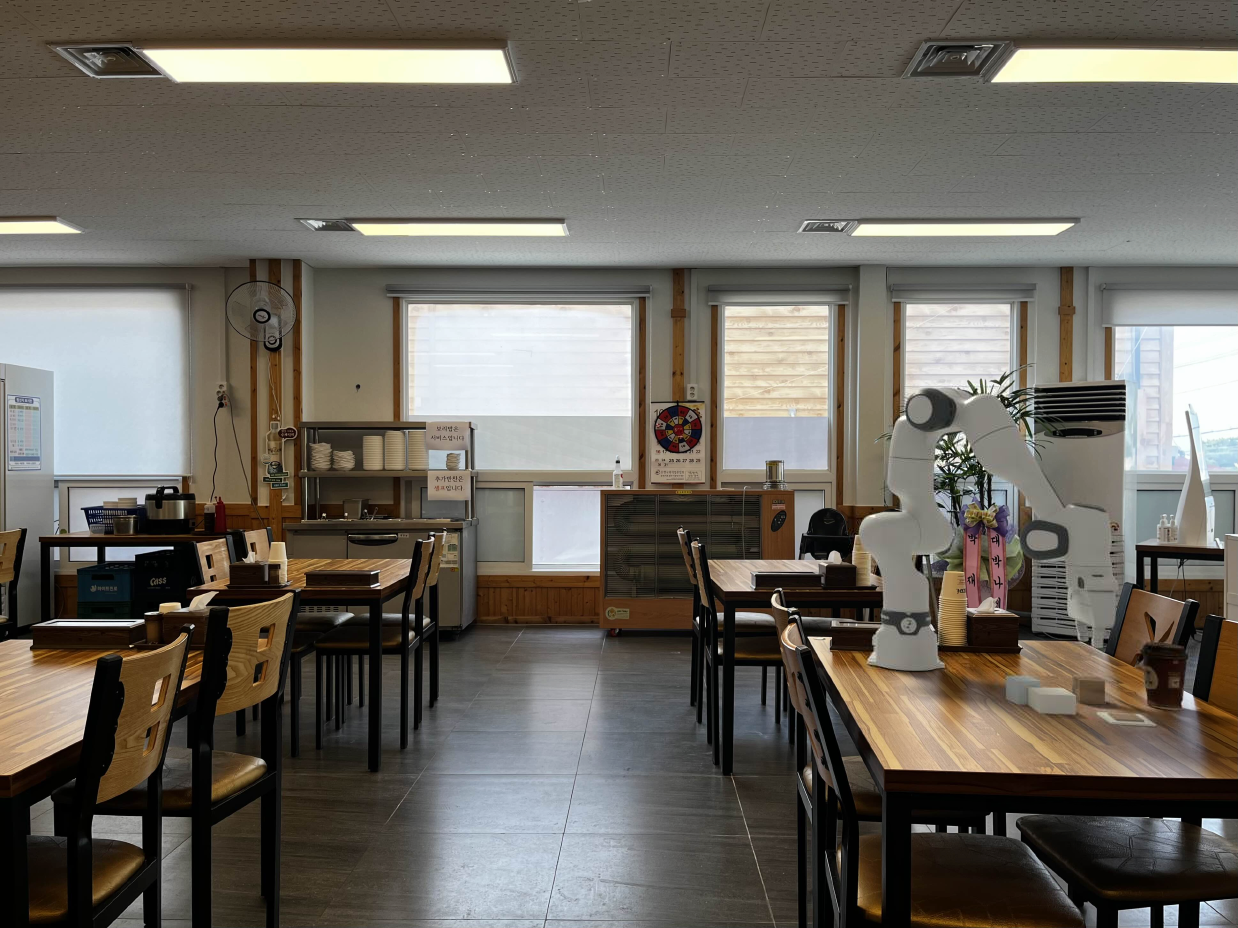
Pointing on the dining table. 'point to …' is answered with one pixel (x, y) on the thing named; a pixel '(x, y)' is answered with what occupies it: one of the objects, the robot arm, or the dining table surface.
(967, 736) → the dining table surface
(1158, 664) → the coffee cup
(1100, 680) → the walnut cube
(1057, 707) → the plinth block
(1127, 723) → the tile
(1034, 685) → the grey cube
